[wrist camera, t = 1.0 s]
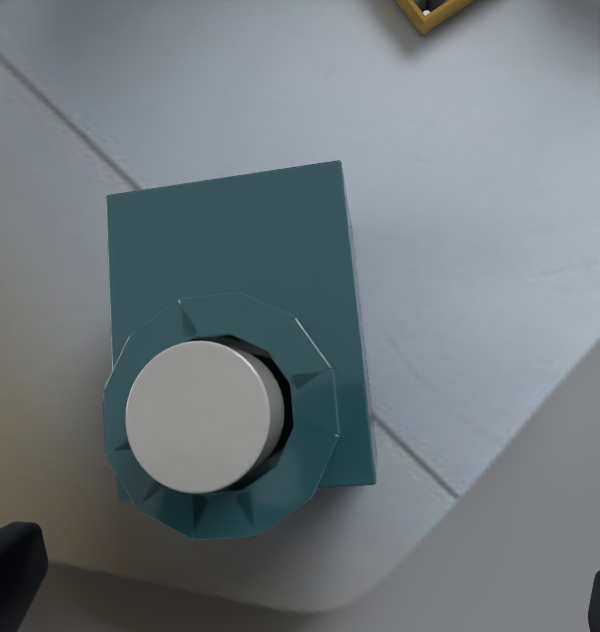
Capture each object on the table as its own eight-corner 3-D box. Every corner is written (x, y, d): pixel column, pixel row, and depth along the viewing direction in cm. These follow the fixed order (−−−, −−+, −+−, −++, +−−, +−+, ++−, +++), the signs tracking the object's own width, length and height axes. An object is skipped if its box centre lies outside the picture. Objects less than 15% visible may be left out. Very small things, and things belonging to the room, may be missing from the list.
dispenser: (379, 472, 22) (379, 530, 13) (195, 485, 23) (80, 547, 14) (351, 225, 23) (336, 128, 15) (180, 248, 24) (70, 170, 16)
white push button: (290, 474, 14) (275, 489, 12) (162, 483, 14) (127, 499, 12) (279, 340, 14) (263, 333, 12) (155, 353, 15) (120, 348, 13)
